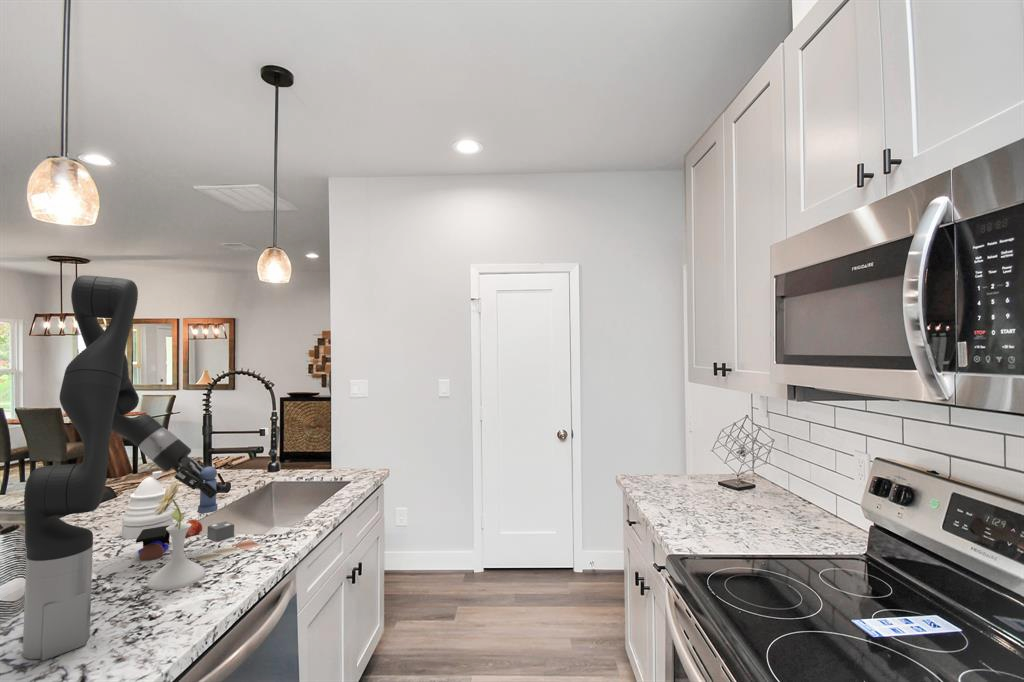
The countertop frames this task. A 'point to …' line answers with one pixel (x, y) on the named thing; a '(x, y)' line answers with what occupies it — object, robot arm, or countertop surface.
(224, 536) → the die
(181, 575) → the flower in vase
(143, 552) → the figurine character
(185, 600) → the countertop surface
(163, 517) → the honey pot
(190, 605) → the countertop surface
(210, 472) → the pawn
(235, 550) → the board
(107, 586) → the countertop surface
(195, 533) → the pomegranate
